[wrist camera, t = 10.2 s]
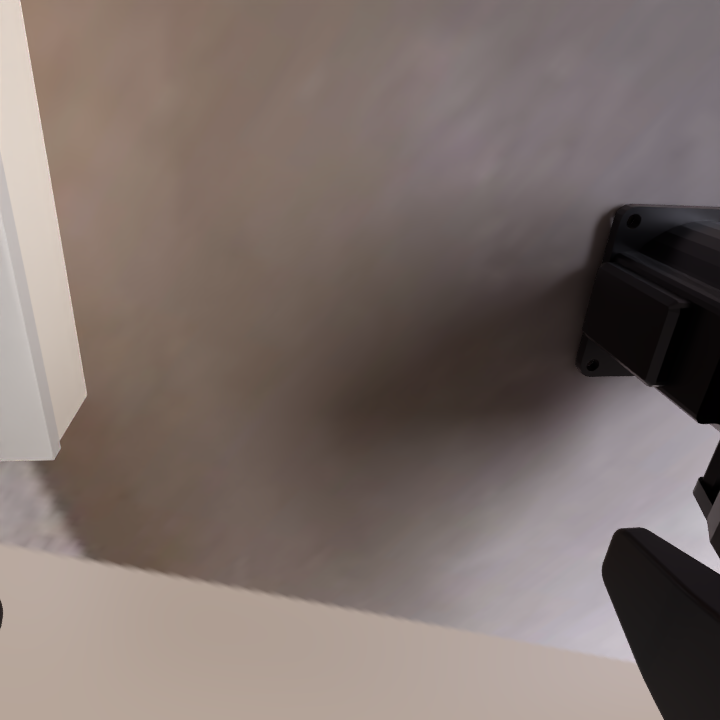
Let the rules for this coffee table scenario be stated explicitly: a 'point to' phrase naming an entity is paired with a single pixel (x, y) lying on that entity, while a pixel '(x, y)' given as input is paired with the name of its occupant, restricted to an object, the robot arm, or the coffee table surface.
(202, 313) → the coffee table surface
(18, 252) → the white rectangular box
